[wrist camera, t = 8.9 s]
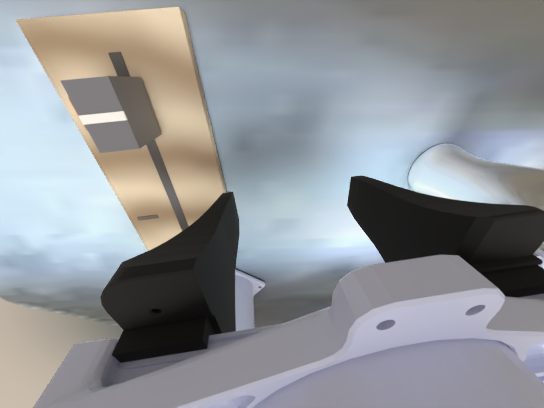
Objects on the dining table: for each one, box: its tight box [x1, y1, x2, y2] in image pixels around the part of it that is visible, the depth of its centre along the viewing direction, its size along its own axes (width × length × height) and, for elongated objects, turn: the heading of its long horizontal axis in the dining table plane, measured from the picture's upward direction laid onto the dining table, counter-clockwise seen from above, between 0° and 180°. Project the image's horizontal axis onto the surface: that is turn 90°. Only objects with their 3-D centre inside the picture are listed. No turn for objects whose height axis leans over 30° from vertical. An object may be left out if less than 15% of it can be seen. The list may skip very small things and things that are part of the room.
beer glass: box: [408, 143, 544, 269], centre depth 17 cm, size 7×7×15 cm
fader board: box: [16, 7, 227, 251], centre depth 19 cm, size 20×10×2 cm, turn 5°
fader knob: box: [61, 76, 162, 153], centre depth 14 cm, size 4×2×4 cm, turn 5°
